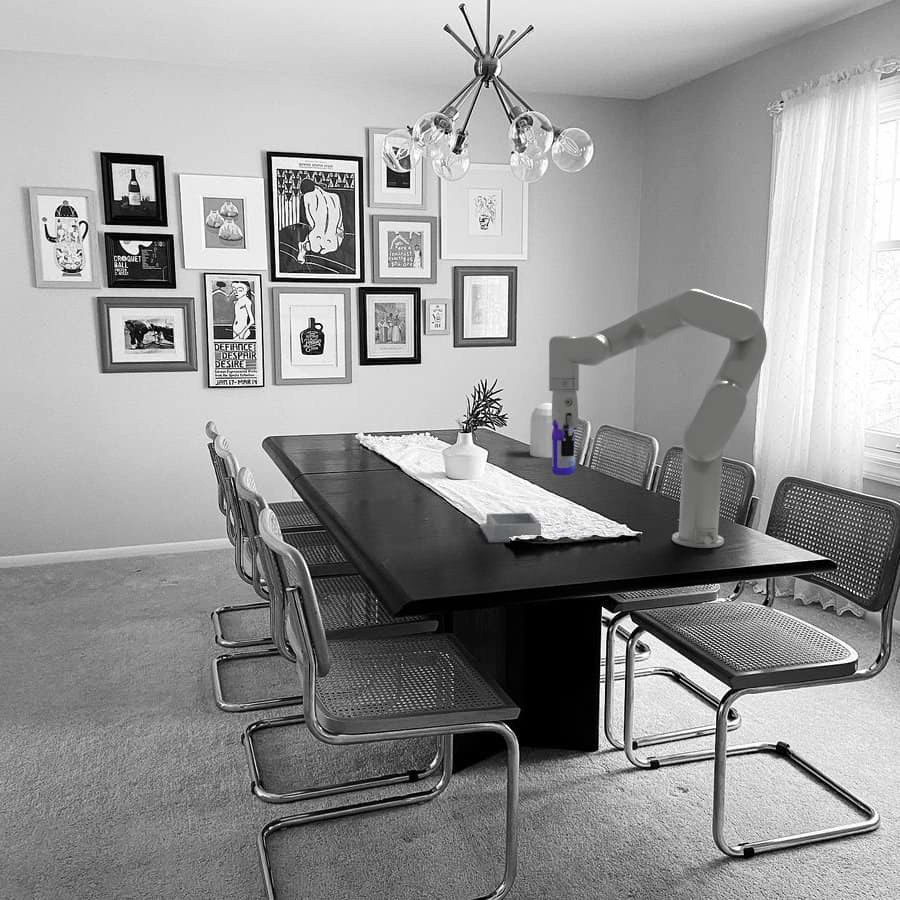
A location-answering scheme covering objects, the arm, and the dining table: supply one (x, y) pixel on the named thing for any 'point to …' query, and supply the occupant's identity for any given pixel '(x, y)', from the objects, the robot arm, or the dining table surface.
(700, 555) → the dining table surface
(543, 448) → the container
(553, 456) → the bottle
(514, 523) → the shallow grey tray
